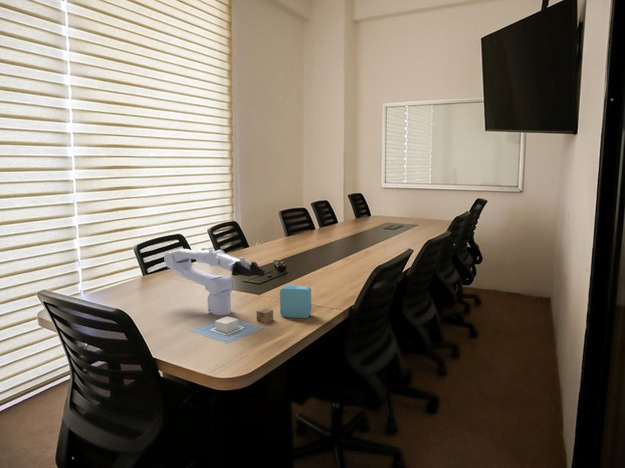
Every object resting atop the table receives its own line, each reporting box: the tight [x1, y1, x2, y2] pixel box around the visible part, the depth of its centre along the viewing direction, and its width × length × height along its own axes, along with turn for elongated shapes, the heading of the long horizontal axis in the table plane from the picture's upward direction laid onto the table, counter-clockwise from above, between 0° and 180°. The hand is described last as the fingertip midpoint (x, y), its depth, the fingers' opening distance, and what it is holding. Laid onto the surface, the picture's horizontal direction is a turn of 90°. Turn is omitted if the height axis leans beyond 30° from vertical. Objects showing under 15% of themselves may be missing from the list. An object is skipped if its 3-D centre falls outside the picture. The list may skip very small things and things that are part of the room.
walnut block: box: [255, 307, 274, 324], centre depth 173 cm, size 4×4×5 cm
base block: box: [214, 315, 240, 333], centre depth 164 cm, size 6×6×4 cm
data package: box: [279, 285, 312, 319], centre depth 180 cm, size 12×4×12 cm, turn 78°
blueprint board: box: [190, 320, 264, 344], centre depth 165 cm, size 20×18×1 cm
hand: (257, 273), depth 169 cm, fingers open, 7 cm apart
